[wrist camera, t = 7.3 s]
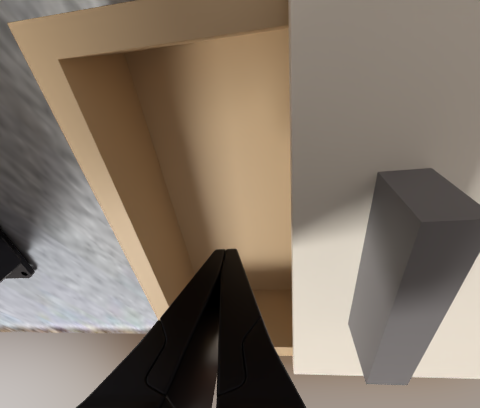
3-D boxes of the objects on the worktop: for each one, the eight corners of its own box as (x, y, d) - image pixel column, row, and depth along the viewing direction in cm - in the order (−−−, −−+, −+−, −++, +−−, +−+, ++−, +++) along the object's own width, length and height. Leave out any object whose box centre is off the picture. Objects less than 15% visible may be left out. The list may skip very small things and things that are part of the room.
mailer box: (192, 290, 21) (175, 353, 17) (102, 29, 11) (6, 23, 7) (370, 287, 19) (400, 357, 15) (448, -28, 9) (599, -82, 5)
